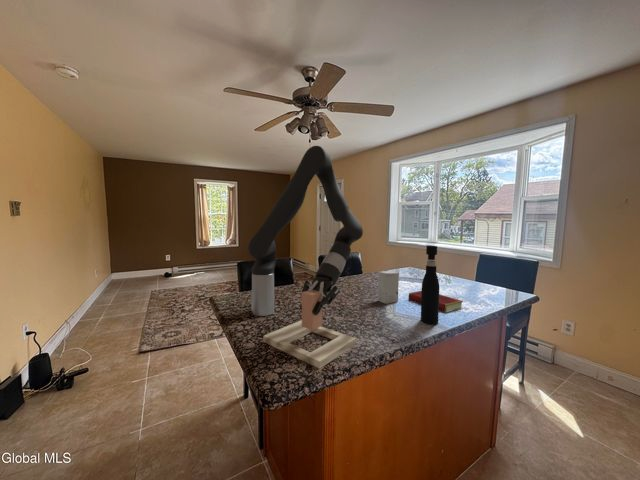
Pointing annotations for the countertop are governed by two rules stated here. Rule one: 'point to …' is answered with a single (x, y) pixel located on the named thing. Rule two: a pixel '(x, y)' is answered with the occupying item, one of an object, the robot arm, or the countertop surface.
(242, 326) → the countertop surface
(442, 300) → the hardcover book
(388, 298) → the skincare box
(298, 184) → the robot arm
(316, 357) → the beige lopsided picture frame
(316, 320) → the tall salmon pink block
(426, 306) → the wine bottle
